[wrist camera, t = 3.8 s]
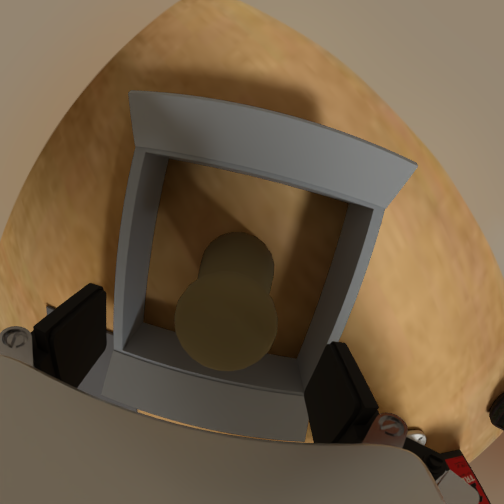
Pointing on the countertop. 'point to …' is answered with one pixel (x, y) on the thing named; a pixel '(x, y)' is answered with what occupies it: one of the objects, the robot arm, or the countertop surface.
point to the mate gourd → (498, 413)
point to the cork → (229, 305)
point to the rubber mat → (99, 372)
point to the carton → (262, 166)
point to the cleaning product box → (464, 472)
